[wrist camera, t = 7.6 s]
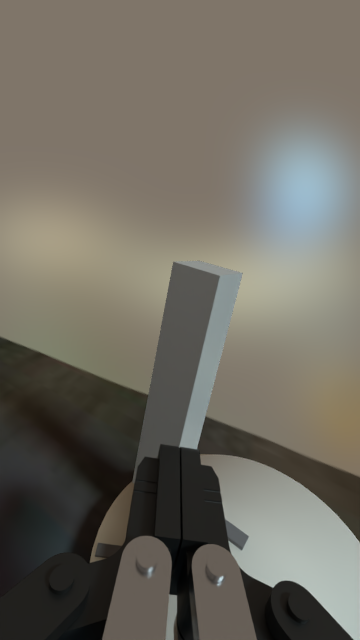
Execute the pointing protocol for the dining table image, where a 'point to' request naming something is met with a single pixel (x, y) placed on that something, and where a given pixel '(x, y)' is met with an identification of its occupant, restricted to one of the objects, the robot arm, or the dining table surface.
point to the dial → (239, 473)
